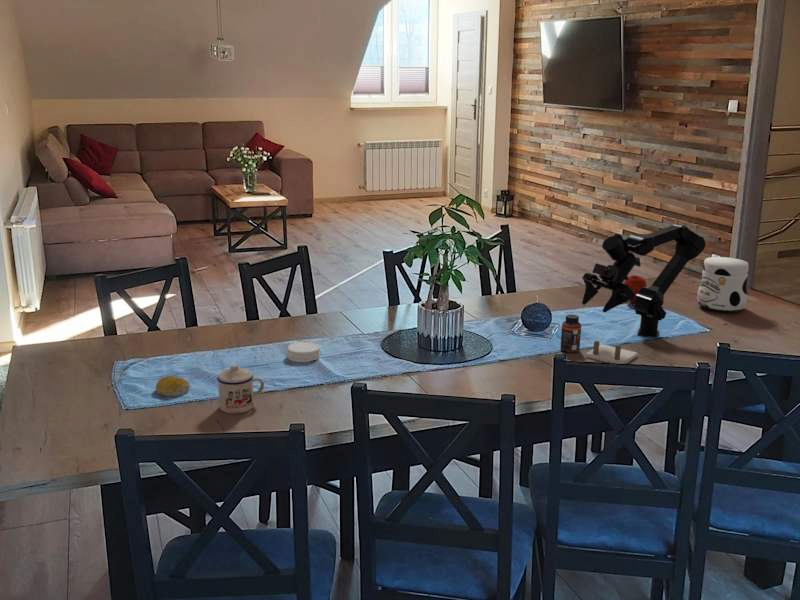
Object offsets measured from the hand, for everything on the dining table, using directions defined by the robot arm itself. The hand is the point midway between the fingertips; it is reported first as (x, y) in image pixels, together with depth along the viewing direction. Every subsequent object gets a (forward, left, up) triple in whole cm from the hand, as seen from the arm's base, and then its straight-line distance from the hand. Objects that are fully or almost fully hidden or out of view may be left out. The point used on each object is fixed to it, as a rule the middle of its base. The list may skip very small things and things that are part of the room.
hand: (593, 307), depth 254 cm
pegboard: (+7, +8, -13) cm, 17 cm away
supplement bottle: (+6, -5, -13) cm, 15 cm away
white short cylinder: (+43, -80, -13) cm, 92 cm away
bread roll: (+80, -101, -13) cm, 130 cm away
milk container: (-61, +40, -13) cm, 74 cm away
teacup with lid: (+82, -78, -13) cm, 114 cm away
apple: (-56, +9, -13) cm, 58 cm away
